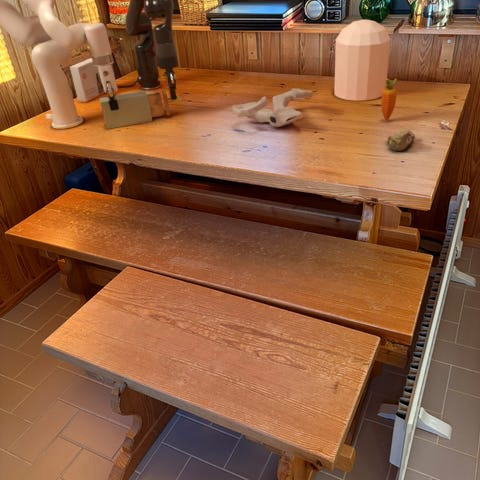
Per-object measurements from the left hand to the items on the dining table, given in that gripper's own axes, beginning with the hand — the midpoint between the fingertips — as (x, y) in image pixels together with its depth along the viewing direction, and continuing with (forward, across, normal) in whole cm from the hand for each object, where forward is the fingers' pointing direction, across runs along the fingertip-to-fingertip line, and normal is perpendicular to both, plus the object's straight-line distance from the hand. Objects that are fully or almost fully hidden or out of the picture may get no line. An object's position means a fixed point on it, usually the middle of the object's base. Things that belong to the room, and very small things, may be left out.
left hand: (114, 106), depth 182 cm
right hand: (+1, 0, -24) cm, 24 cm away
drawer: (+6, 0, -15) cm, 16 cm away
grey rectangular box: (+7, 0, -4) cm, 8 cm away
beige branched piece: (+8, -32, -57) cm, 66 cm away
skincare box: (+7, +47, +7) cm, 48 cm away
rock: (+8, -68, -85) cm, 109 cm away
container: (+8, -14, -100) cm, 101 cm away
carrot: (+8, -47, -92) cm, 104 cm away
